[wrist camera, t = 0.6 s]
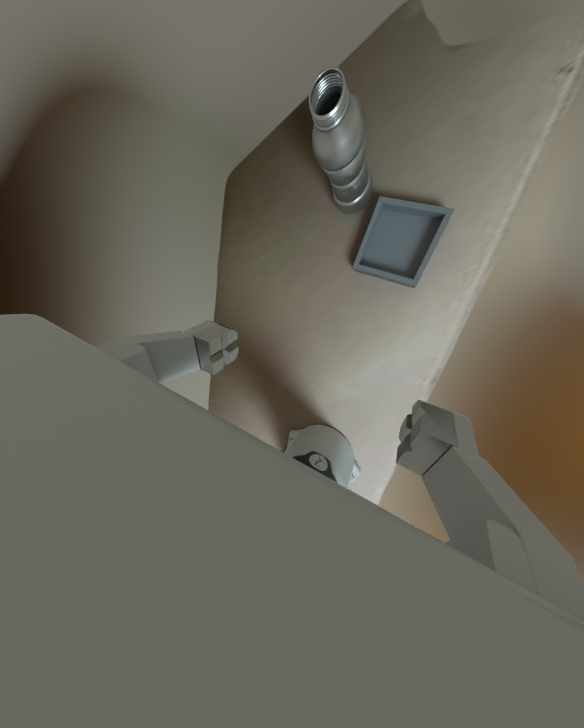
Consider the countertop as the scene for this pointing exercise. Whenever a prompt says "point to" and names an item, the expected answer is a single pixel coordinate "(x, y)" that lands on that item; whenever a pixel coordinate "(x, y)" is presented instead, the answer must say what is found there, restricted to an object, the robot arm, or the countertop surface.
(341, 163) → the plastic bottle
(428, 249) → the holder
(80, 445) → the robot arm
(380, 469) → the countertop surface
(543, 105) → the countertop surface
